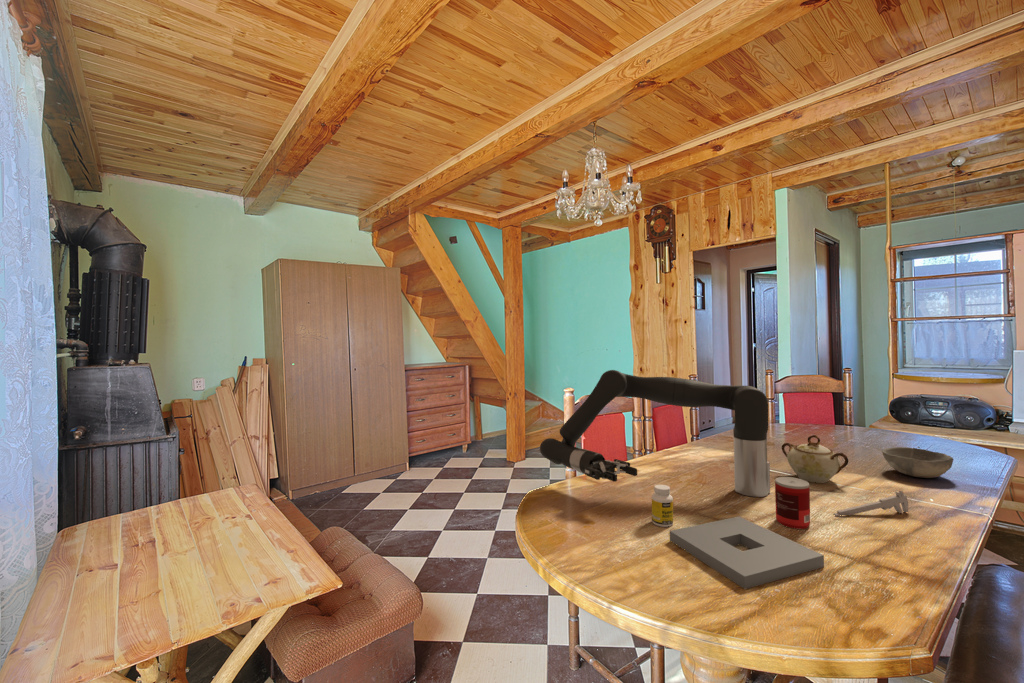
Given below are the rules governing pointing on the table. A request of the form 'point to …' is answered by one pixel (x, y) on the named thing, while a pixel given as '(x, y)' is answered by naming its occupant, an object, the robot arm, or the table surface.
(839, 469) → the sugar bowl
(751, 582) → the socket board
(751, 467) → the robot arm
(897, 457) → the bowl
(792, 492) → the canned food
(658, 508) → the supplement bottle
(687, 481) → the table surface
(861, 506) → the caliper
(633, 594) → the table surface
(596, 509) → the table surface
